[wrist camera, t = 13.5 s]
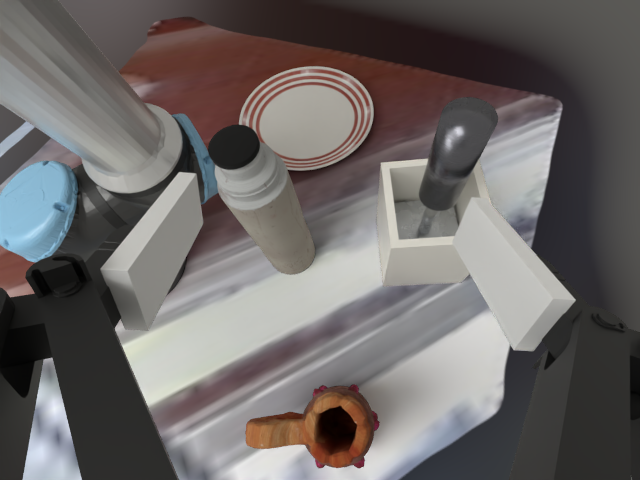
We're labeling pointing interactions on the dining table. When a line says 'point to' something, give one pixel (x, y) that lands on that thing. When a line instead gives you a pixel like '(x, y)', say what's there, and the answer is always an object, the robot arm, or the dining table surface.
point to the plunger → (447, 169)
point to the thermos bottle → (262, 197)
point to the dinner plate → (310, 116)
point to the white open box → (423, 253)
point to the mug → (322, 428)
